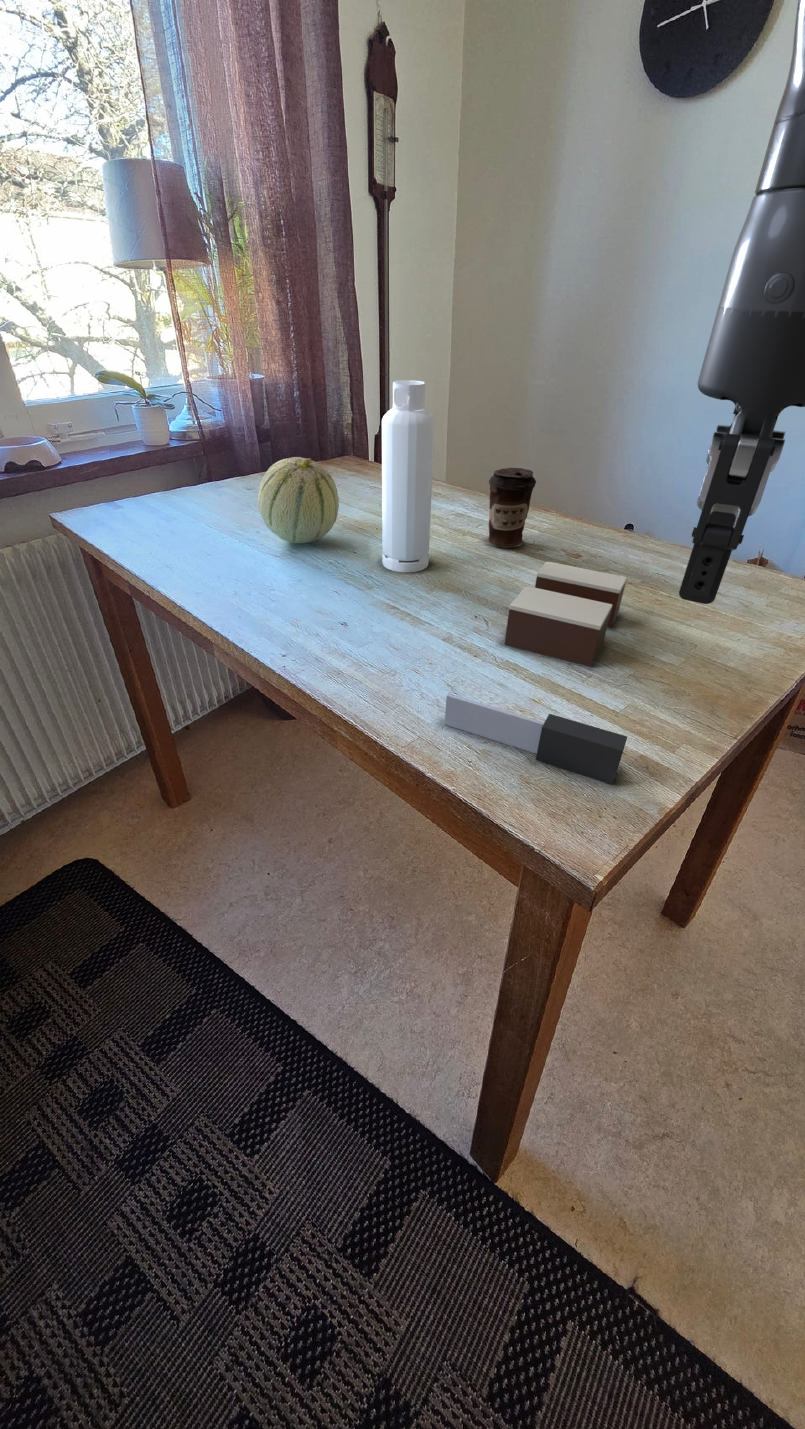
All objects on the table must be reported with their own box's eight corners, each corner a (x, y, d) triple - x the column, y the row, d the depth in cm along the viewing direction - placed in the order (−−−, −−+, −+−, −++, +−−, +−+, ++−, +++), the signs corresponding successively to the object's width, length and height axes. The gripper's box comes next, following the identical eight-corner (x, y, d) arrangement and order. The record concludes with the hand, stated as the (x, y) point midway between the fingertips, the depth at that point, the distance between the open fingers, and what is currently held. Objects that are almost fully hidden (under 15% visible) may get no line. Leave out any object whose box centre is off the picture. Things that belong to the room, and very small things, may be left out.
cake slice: (617, 614, 91) (627, 577, 87) (610, 628, 87) (620, 589, 84) (540, 597, 95) (546, 561, 92) (531, 609, 92) (537, 572, 88)
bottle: (437, 561, 106) (446, 382, 90) (410, 576, 101) (415, 388, 84) (400, 551, 110) (403, 377, 93) (373, 564, 105) (370, 382, 88)
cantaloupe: (277, 524, 120) (268, 444, 111) (348, 529, 119) (345, 448, 110) (250, 552, 108) (238, 464, 100) (329, 558, 107) (324, 469, 98)
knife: (617, 770, 62) (627, 736, 60) (612, 785, 61) (622, 750, 58) (449, 717, 69) (452, 684, 67) (440, 729, 67) (442, 696, 65)
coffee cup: (530, 552, 111) (541, 479, 103) (485, 551, 111) (492, 478, 103) (523, 535, 118) (533, 465, 110) (481, 534, 118) (487, 464, 110)
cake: (603, 643, 84) (612, 604, 80) (591, 667, 79) (600, 626, 75) (520, 623, 88) (526, 585, 84) (504, 644, 83) (509, 605, 79)
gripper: (888, 310, 27) (755, 631, 36) (861, 301, 37) (762, 554, 47) (708, 303, 30) (628, 604, 39) (729, 297, 40) (662, 537, 49)
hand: (701, 577), depth 43 cm, fingers open, 8 cm apart
